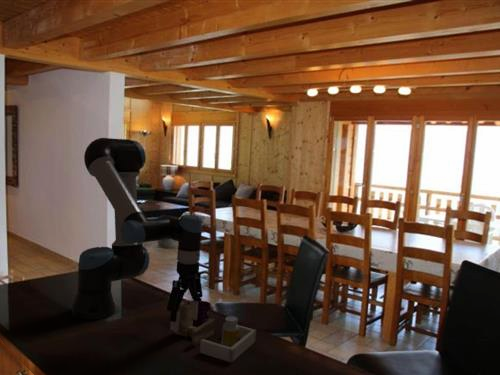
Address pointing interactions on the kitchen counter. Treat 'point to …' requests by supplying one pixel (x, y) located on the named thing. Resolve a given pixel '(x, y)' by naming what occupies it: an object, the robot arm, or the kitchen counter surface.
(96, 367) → the kitchen counter surface
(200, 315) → the mug
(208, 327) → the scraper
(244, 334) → the corral
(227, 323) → the supplement bottle
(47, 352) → the kitchen counter surface
